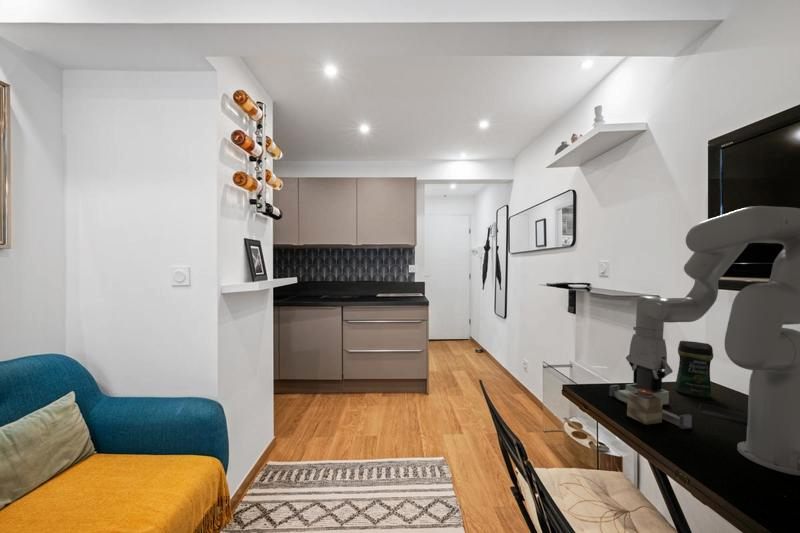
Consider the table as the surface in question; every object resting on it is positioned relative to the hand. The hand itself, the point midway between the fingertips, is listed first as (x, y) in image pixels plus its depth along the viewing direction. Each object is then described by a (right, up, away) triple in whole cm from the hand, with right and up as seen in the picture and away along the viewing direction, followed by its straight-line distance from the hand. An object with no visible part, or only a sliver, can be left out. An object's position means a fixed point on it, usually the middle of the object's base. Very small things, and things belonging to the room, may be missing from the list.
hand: (646, 385), depth 115 cm
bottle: (0, -5, 0) cm, 5 cm away
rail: (-5, -5, -7) cm, 10 cm away
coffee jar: (+22, -6, +7) cm, 24 cm away
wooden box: (-10, -5, -13) cm, 18 cm away
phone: (+18, -6, -10) cm, 22 cm away
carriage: (-2, -5, -1) cm, 5 cm away
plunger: (-10, -2, -13) cm, 17 cm away
